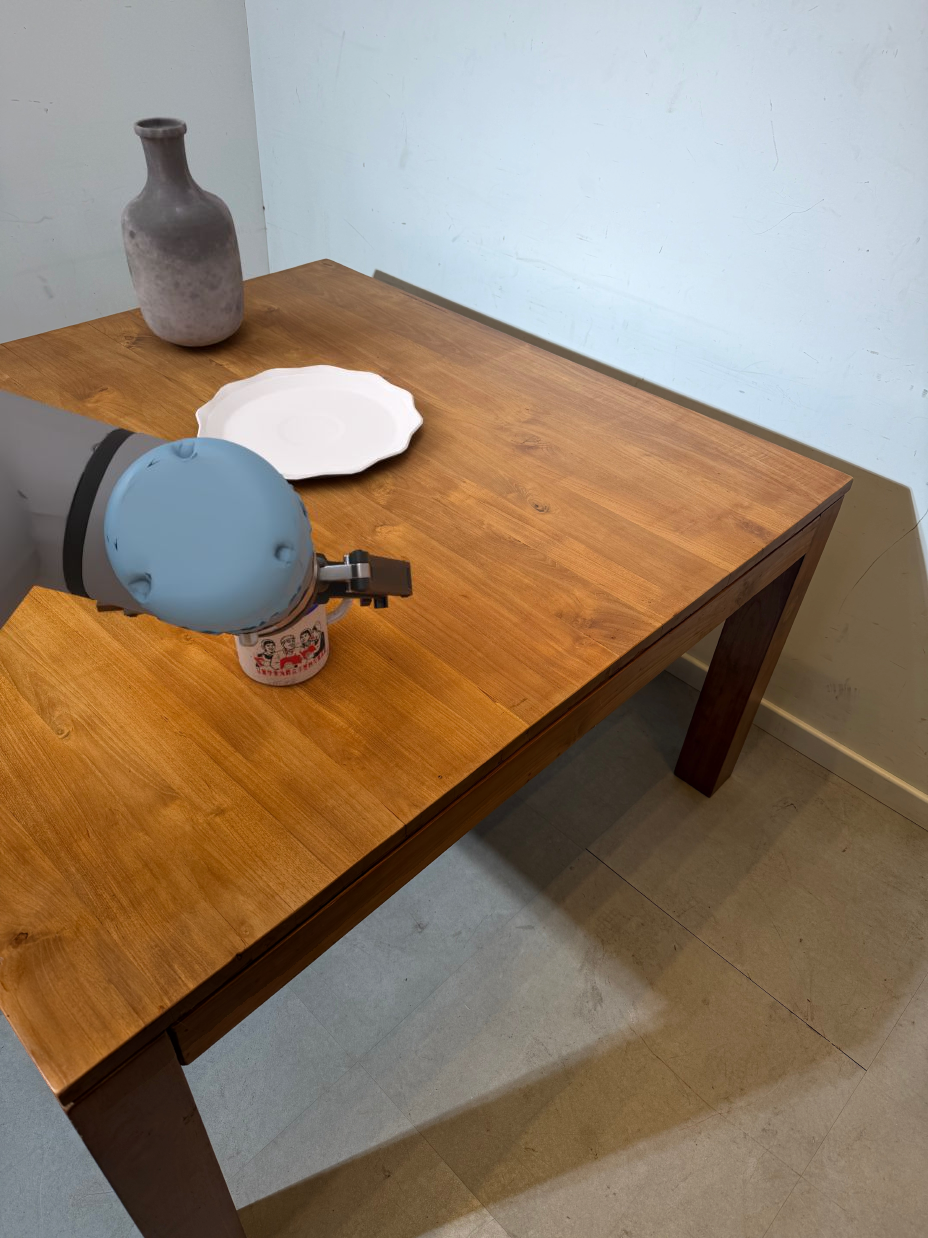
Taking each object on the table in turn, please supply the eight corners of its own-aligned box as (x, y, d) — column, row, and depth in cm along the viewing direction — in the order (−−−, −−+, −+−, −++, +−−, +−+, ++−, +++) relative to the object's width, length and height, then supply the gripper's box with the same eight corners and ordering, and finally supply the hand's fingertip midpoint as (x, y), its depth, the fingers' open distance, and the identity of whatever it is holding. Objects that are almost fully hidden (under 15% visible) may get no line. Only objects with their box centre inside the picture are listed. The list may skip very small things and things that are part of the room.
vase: (193, 310, 139) (154, 103, 119) (271, 331, 134) (245, 119, 114) (123, 345, 129) (68, 125, 108) (206, 370, 124) (165, 144, 103)
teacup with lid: (255, 702, 77) (237, 608, 69) (224, 641, 82) (204, 547, 74) (374, 660, 81) (370, 567, 73) (337, 604, 87) (329, 512, 79)
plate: (465, 437, 113) (465, 421, 111) (285, 522, 97) (283, 505, 95) (330, 361, 128) (329, 346, 126) (156, 425, 112) (152, 408, 110)
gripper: (15, 654, 44) (120, 654, 65) (475, 620, 48) (435, 630, 69) (6, 514, 45) (114, 559, 66) (465, 491, 48) (428, 540, 69)
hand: (279, 595), depth 67 cm, fingers open, 13 cm apart
